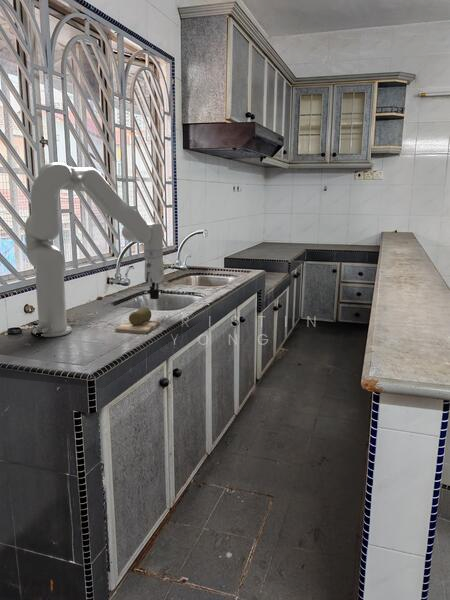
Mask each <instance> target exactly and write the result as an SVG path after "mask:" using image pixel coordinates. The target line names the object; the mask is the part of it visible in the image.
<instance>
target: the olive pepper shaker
mask: <svg viewBox="0 0 450 600" xmlns="http://www.w3.org/2000/svg"><path fill="white" fill-rule="evenodd" d="M151 319H152V311H151V309H150V308H148V307H146V306H143V307H139V308H138V309H137V310H136V311H132V312H131V313H130V314H129V316H128V321H129V322H130V323H131V324H132V325H136V326H137V325H139V324H141V323H142V322H145V321H151Z"/></svg>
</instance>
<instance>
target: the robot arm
mask: <svg viewBox="0 0 450 600" xmlns="http://www.w3.org/2000/svg"><path fill="white" fill-rule="evenodd" d="M61 190H65V191H74V192H75V191H76V192H85V194H86V195H87V196H88V197H89V199H91V201H92V202H93V203H94V204H95V205H96V206H97V207H98V209H100V211H101V212H102V213H103V214H104V215H106V216H108V217H110V218H112V219H113V220H115V221H117V222H118V223H120V224H121V225H122V229H121V235H122V236H123V238H124V239H125V240H126V241H128V242H131V243H138V244H143V258H144V282H145V283H147V287H148V289H149V299H150V300H158V299H159V298H160V295H159V293H160V291H159V288H160V283H161V282H162V281H164V279H165V269H164V259H163V258H164V253H163V252H164V249H163V248H164V244H163V225H162V223H161V222H147V221H146V220H145V219H144V217H142V216H141V214H140V213H139V212H138V211H137V210H136V209H135V208H133V207H132V206H131V205H130V204H128V203H127V201H125V199H123V198H122V197H121V196H120V195H119V194H118V193H117V192H116V190H114V188H113V187H112V186H111V184H110V183H109V182H108V181H107V180H106V179H105V178H104V176H103V175H102V173H100V172H99V171H98V170H97V169H96V168H95V167H88V166H86V167H76V166H74V167H73V166H69V165H67V164H66V163H63V162H60V161H58V162H57V161H55V162H50V163H45V164H43V165H42V166H41V167H40V168H39V170H38V175H37V177H36V179H35V180H34V182H33V184H32V187H31V191H30V211H31V212H30V213H31V214H30V215H29V216H28V217H27V218H26V221H25V223H24V235H25V236H24V237H25V245H26V247H25V248H26V254H27V259H28V262H29V263H30V264H31V266H33V267H34V268H35V270H36V272H35V289H36V301H37V302H36V303H37V305H36V306H37V315H38V317H37V319H38V323H37V327H34V328H32V331H31V332H32V334H34V335H36V333H39V332H42V333H43V334H41V336H40V337H42V336H43V337H45V338H52V337H53V338H54V337H61V336H65V335H68V334H70V333H72V327H71V326H70V325H67V323H68V322H67V321H68V320H67V305H66V292H65V290H66V289H65V269H66V268H65V267H66V260H65V255H64V253H63V252H62V250H61V249H60V248H58V247H57V246H54V240H55V239H56V238H57V237H58V236H59V234H60V223H59V210H58V198H59V197H58V196H59V194H60V192H61ZM43 337H42V338H43Z"/></svg>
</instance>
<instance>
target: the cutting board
mask: <svg viewBox="0 0 450 600" xmlns="http://www.w3.org/2000/svg"><path fill="white" fill-rule="evenodd" d="M159 324H160V325H161V322H160V320H149V321H145V322H142V323H141V324H139V325H137V326H136V325H132V324H131V323H130V322H129V320H128V321H126V322H124V323H122V324H120V325H119V326H117V327H115V332H117V333H129V334H140V335H147V334H148V333H150V332H151V331H153V330H154V329H155V328H156V326H157V325H158V326H160V325H159ZM158 326H157V327H158ZM153 328H154V329H153ZM152 329H153V330H152ZM150 330H151V331H150ZM149 331H150V332H149ZM147 332H148V333H147ZM146 333H147V334H146Z"/></svg>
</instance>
